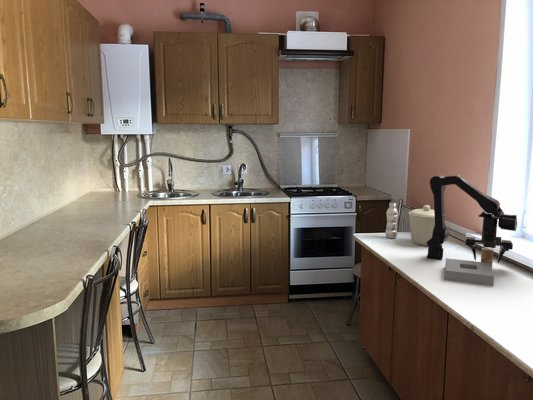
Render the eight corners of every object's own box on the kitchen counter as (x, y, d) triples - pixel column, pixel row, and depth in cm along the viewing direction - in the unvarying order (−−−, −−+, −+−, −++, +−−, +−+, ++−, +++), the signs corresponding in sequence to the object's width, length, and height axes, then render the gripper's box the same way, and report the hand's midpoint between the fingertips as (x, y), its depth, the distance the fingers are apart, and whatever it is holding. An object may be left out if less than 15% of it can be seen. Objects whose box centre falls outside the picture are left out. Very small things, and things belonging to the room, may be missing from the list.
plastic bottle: (391, 240, 244) (392, 204, 241) (382, 237, 250) (384, 202, 247) (399, 238, 247) (401, 203, 244) (391, 236, 253) (393, 201, 250)
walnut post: (480, 267, 197) (482, 250, 196) (480, 264, 201) (481, 248, 200) (491, 269, 195) (493, 251, 194) (491, 266, 199) (492, 249, 198)
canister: (412, 237, 250) (415, 201, 246) (446, 242, 239) (449, 204, 236) (402, 244, 235) (404, 205, 232) (437, 250, 225) (440, 209, 221)
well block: (444, 279, 182) (445, 270, 181) (445, 266, 198) (445, 258, 198) (493, 285, 175) (494, 276, 174) (489, 271, 192) (490, 263, 191)
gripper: (467, 229, 191) (464, 264, 194) (515, 233, 184) (512, 269, 187) (466, 224, 202) (463, 257, 204) (512, 228, 194) (509, 262, 197)
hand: (486, 261), depth 198 cm, fingers open, 9 cm apart
